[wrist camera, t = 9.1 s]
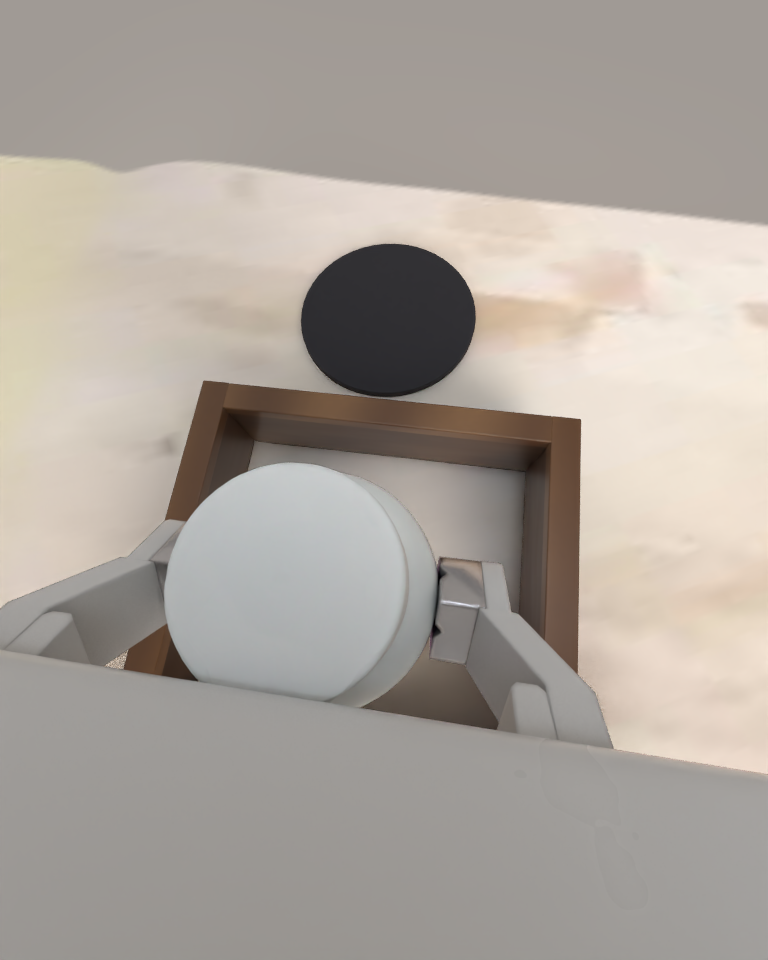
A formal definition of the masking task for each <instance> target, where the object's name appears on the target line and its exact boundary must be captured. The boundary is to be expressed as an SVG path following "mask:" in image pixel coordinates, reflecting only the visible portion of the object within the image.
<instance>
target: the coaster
mask: <svg viewBox="0 0 768 960" xmlns="http://www.w3.org/2000/svg"><path fill="white" fill-rule="evenodd" d="M475 319H476V318H475V306H474V301H473V297H472V294H471V292H470V289H469V287H468V286H467V284H466V282H465V280H464V279H463V278H462V276H461V275H460V273H459V272H458V271H457V270H456V269H455V268H454V267H453V266H452V265H450V264H449V263H448V262H447V261H445V260H444V259H442V258H441V257H439V256H437V255H436V254H433V253H431V252H429V251H427V250H424V249H421V248H418V247H414V246H409V245H401V244H381V245H373V246H369V247H365V248H361V249H358V250H355V251H353V252H351V253H348V254H346V255H344V256H342V257H341V258H339V259H338V260H336V261H334V262H333V263H332V264H331V265H329V266H328V267H327V268H326V269H325V270H324V271H323V272H322V273H321V274H320V275H319V276H318V277H317V279H316V280H315V281H314V283H313V284H312V286H311V288H310V289H309V291H308V293H307V296H306V298H305V301H304V305H303V309H302V317H301V326H302V333H303V338H304V341H305V344H306V347H307V349H308V352H309V354H310V355H311V357H312V359H313V361H314V362H315V363H316V365H317V366H318V367H319V368H320V370H322V371H323V372H324V373H325V374H326V375H327V376H328V377H329V378H331V379H332V380H333V381H335V382H336V383H338V384H340V385H342V386H343V387H345V388H348V389H350V390H353V391H355V392H358V393H363V394H367V395H373V396H399V395H405V394H409V393H413V392H417V391H419V390H422V389H425V388H427V387H429V386H431V385H433V384H435V383H437V382H438V381H439V380H441V379H442V378H444V377H445V376H446V375H448V374H449V373H450V372H451V371H452V370H453V369H454V368H455V367H456V366H457V365H458V363H459V362H460V361H461V360H462V358H463V356H464V355H465V353H466V352H467V350H468V347H469V345H470V343H471V340H472V336H473V332H474V328H475Z"/></svg>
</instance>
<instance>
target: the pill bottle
mask: <svg viewBox="0 0 768 960" xmlns="http://www.w3.org/2000/svg"><path fill="white" fill-rule="evenodd" d="M437 592H438V573H437V566H436V562H435V559H434V556H433V553H432V551H431V548H430V545H429V543H428V540H427V538H426V536H425V534H424V532H423V531H422V529H421V527H420V525H419V524H418V522H417V521H416V520H415V518H414V517H413V516H412V514H411V513H410V512H409V511H408V510H407V509H406V507H405V506H404V505H403V504H402V503H401V502H400V501H399V500H398V499H396V498H395V497H394V496H392V495H391V494H390V493H389V492H387V491H386V490H384V489H383V488H381V487H379V486H377V485H375V484H374V483H372V482H370V481H368V480H365V479H363V478H360V477H357V476H353V475H349V474H345V473H340V472H337V471H335V470H333V469H330V468H327V467H323V466H320V465H314V464H306V463H295V462H289V463H278V464H272V465H266V466H262V467H259V468H256V469H253V470H250V471H248V472H245V473H243V474H240V475H238V476H237V477H235V478H233V479H231V480H230V481H228V482H227V483H225V484H224V485H222V486H221V487H219V488H218V489H217V490H215V491H214V492H213V493H212V494H211V495H210V496H209V497H208V498H206V499H205V500H204V501H203V502H202V503H201V504H200V506H199V507H198V508H197V509H196V510H195V511H194V513H193V514H192V515H191V516H190V518H189V519H188V521H187V522H186V524H185V525H184V527H183V529H182V531H181V532H180V534H179V536H178V538H177V541H176V543H175V546H174V548H173V550H172V554H171V557H170V560H169V563H168V568H167V575H166V581H165V586H164V607H165V615H166V620H167V624H168V629H169V632H170V635H171V638H172V640H173V642H174V645H175V647H176V649H177V651H178V653H179V655H180V657H181V659H182V660H183V662H184V663H185V665H186V666H187V667H188V669H189V670H190V672H191V673H192V674H193V675H194V676H195V678H196V679H198V680H199V681H200V682H203V683H209V684H216V685H222V686H228V687H234V688H240V689H246V690H253V691H259V692H265V693H271V694H277V695H283V696H289V697H296V698H302V699H308V700H314V701H320V702H326V703H332V704H339V705H345V706H351V707H357V708H360V707H362V706H364V705H366V704H368V703H370V702H371V701H373V700H375V699H377V698H378V697H380V696H382V695H383V694H385V693H386V692H387V691H389V690H390V689H391V688H392V687H394V686H395V685H396V684H397V683H398V682H399V681H400V680H401V679H402V678H403V677H404V676H405V675H406V674H407V673H408V672H409V671H410V669H411V668H412V666H413V665H414V664H415V662H416V661H417V659H418V658H419V656H420V655H421V653H422V651H423V649H424V647H425V645H426V643H427V640H428V638H429V636H430V633H431V630H432V627H433V623H434V619H435V613H436V604H437Z"/></svg>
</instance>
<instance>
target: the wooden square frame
mask: <svg viewBox="0 0 768 960" xmlns="http://www.w3.org/2000/svg"><path fill="white" fill-rule="evenodd" d="M254 440H255V441H261V442H270V443H279V444H288V445H297V446H306V447H314V448H323V449H332V450H341V451H350V452H359V453H367V454H376V455H385V456H394V457H403V458H412V459H420V460H429V461H438V462H447V463H456V464H465V465H474V466H482V467H491V468H500V469H509V470H518V471H526V484H525V504H524V524H523V545H522V565H521V585H520V606H519V615H520V616H521V617H522V618H523V619H524V620H525V621H526V622H527V623H528V624H529V625H530V626H531V627H532V628H533V629H534V630H535V631H536V632H537V633H538V635H539V636H540V637H541V638H542V639H543V640H544V641H545V642H546V643H547V644H548V645H549V646H550V647H551V648H552V649H553V650H554V651H555V652H556V653H557V654H558V655H559V656H560V657H561V658H562V659H563V660H564V661H565V662H566V663H567V664H568V665H569V666H570V667H571V668H572V669H573V670H574V671H575V673H576V674H577V675H578V604H579V529H580V455H581V419H574V418H564V417H554V416H553V417H551V416H543V415H534V414H524V413H514V412H504V411H494V410H485V409H475V408H465V407H455V406H446V405H436V404H426V403H416V402H406V401H397V400H387V399H377V398H367V397H358V396H348V395H338V394H328V393H318V392H309V391H299V390H289V389H279V388H269V387H260V386H250V385H240V384H229V383H223V382H213V381H203V384H202V388H201V392H200V395H199V399H198V402H197V406H196V410H195V413H194V417H193V420H192V424H191V428H190V431H189V435H188V438H187V442H186V446H185V449H184V453H183V456H182V460H181V464H180V467H179V471H178V474H177V478H176V482H175V485H174V489H173V492H172V496H171V500H170V503H169V507H168V510H167V514H166V518H165V521H166V520H169V519H172V520H179V521H186V522H187V521H188V519H189V518H190V516H191V515H192V514H193V513H194V511H195V510H196V509H197V508H198V507H199V506H200V504H201V503H202V502H203V501H204V500H205V499H206V498H208V497H209V496H210V495H211V494H212V493H213V492H214V491H215V490H217V489H218V488H219V487H221V486H222V485H224V484H225V483H227V482H228V481H230V480H231V479H233V478H235V477H237V476H238V475H240V474H243V473H245V472H247V469H248V465H249V460H250V456H251V452H252V448H253V443H254ZM123 670H129V671H135V672H141V673H148V674H154V675H160V676H166V677H172V678H179V679H185V680H191V681H197V682H198V679H196V678H195V676H194V675H193V674H192V673H191V672H190V670H189V669H188V667H187V666H186V665H185V663H184V662H183V660H182V659H181V657H180V655H179V653H178V651H177V649H176V647H175V645H174V642H173V640H172V638H171V635H170V632H169V629H168V624H165V625H164V626H162V627H161V628H159V629H158V630H156V631H155V632H153V633H152V634H150V635H149V636H147V637H146V638H144V639H143V640H141V641H140V642H139V643H137V644H136V645H134V646H133V647H131V648H130V649H129V651H128V654H127V658H126V662H125V665H124V669H123Z"/></svg>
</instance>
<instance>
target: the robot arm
mask: <svg viewBox="0 0 768 960" xmlns="http://www.w3.org/2000/svg"><path fill="white" fill-rule="evenodd" d="M185 524H186V521H179V520H172V519H169V520H166V521H164V522H163V523H162V524H161V525H160V526H159V527H158V528H157V529H156V530H155V531H154V532H152V533H151V534H150V535H149V536H148V537H147V538H146V539H145V540H144V541H143V542H142V543H141V544H140V545H139V546H138V547H137V548H136V549H135V550H134V551H133V552H132V553H131V554H130V555H129V556H128V557H127V558H124V557H119V558H117V559H114V560H112V561H109V562H107V563H104V564H102V565H99V566H97V567H94V568H92V569H89V570H87V571H85V572H82V573H80V574H77V575H75V576H72V577H70V578H67V579H65V580H62V581H60V582H57V583H55V584H52V585H50V586H47V587H45V588H42V589H40V590H37V591H35V592H32V593H30V594H27V595H25V596H22V597H20V598H17V599H15V600H12V601H10V602H8V603H6V604H5V605H4V606H3V607H1V608H0V960H768V774H763V773H757V772H751V771H745V770H739V769H732V768H726V767H720V766H714V765H708V764H702V763H696V762H689V761H683V760H677V759H671V758H665V757H659V756H652V755H646V754H640V753H634V752H628V751H622V750H616V749H614V748H613V745H612V742H611V739H610V736H609V733H608V730H607V727H606V724H605V721H604V718H603V715H602V712H601V709H600V706H599V703H598V700H597V697H596V694H595V692H594V691H593V690H592V689H591V688H590V687H589V686H588V685H587V684H586V683H585V682H584V681H583V680H582V679H581V678H580V677H579V676H578V675H577V674H576V673H575V671H574V670H573V669H572V668H571V667H570V666H569V665H568V664H567V663H566V662H565V661H564V660H563V659H562V658H561V657H560V656H559V655H558V654H557V653H556V652H555V651H554V650H553V649H552V648H551V647H550V646H549V645H548V644H547V643H546V642H545V641H544V640H543V639H542V638H541V637H540V636H539V635H538V633H537V632H536V631H535V630H534V629H533V628H532V627H531V626H530V625H529V624H528V623H527V622H526V621H525V620H524V619H523V618H522V617H521V616H520V615H519V614H518V613H513V612H511V607H510V601H509V596H508V590H507V585H506V579H505V574H504V569H503V565H502V564H501V563H495V562H486V561H480V562H479V561H472V560H464V559H457V558H449V557H441V556H439V560H438V565H437V573H438V592H437V604H436V613H435V619H434V623H433V627H432V630H431V633H430V653H429V659H433V660H438V661H444V662H449V663H455V664H461V665H466V669H467V671H468V672H469V674H470V676H471V677H472V679H473V681H474V682H475V684H476V686H477V687H478V689H479V691H480V692H481V694H482V695H483V697H484V699H485V700H486V702H487V704H488V705H489V707H490V709H491V710H492V712H493V714H494V715H495V717H496V719H497V720H498V722H499V724H498V727H497V730H492V729H486V728H480V727H474V726H468V725H462V724H456V723H449V722H443V721H437V720H431V719H425V718H419V717H412V716H406V715H400V714H394V713H388V712H382V711H376V710H369V709H363V708H357V707H351V706H345V705H339V704H332V703H326V702H320V701H314V700H308V699H302V698H296V697H289V696H283V695H277V694H271V693H265V692H259V691H253V690H246V689H240V688H234V687H228V686H222V685H216V684H209V683H203V682H197V681H191V680H185V679H179V678H172V677H166V676H160V675H154V674H148V673H141V672H135V671H129V670H123V669H117V668H111V667H104V665H106V664H107V663H109V662H110V661H112V660H113V659H115V658H116V657H118V656H119V655H121V654H122V653H124V652H125V651H127V650H128V649H130V648H131V647H133V646H134V645H136V644H137V643H139V642H140V641H141V640H143V639H144V638H146V637H147V636H149V635H150V634H152V633H153V632H155V631H156V630H158V629H159V628H161V627H162V626H164V625H165V624H167V620H166V615H165V607H164V586H165V581H166V575H167V568H168V563H169V560H170V557H171V554H172V550H173V548H174V546H175V543H176V541H177V538H178V536H179V534H180V532H181V531H182V529H183V527H184V525H185Z"/></svg>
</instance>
